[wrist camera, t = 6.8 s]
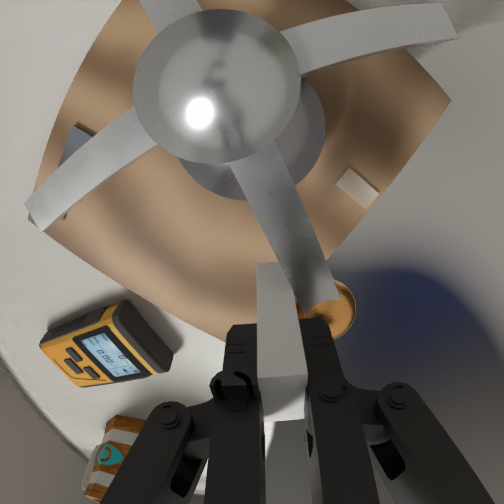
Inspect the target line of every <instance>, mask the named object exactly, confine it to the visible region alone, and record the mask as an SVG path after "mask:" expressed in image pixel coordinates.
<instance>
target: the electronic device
mask: <svg viewBox="0 0 504 504" xmlns="http://www.w3.org/2000/svg"><path fill="white" fill-rule="evenodd" d="M39 346H40V348H41V350H42V351H43V352H44V354H45V355H46V356H47V357H48V358H49V359H50V360H51V361H52V362H53V363H54V364H55V365H56V366H57V367H58V368H59V369H60V370H61V371H62V372H63V373H64V374H65V375H66V376H67V377H68V378H69V379H70V380H71V381H72V382H73V383H74V384H75V385H76V386H79V387H91V386H98V385H105V384H112V383H118V382H125V381H130V380H136V379H142V378H146V377H148V376H150V375H154V374H159V373H164V372H168V371H169V370H170V367H171V364H172V360H173V353H172V352H171V351H170V349H169V348H168V347H167V346H166V345H165V344H164V342H163V341H162V340H161V339H160V338H159V337H158V335H157V334H156V333H155V332H154V331H153V330H152V328H151V327H150V326H149V325H148V323H147V322H146V321H145V320H144V319H143V317H142V316H141V315H140V314H139V312H138V311H137V310H136V308H135V307H134V306H133V305H132V304H131V302H130V301H129V300H125V301H123V302H120V303H118V304H116V305H114V306H111V307H109V308H106V307H104V308H102V309H99V310H97V311H95V312H92V313H90V314H88V315H84V316H83V317H80V318H78V319H76V320H73V321H71V322H69V323H66V324H64V325H62V326H59V327H56V328H55V329H53V330H50V331H48V332H47V333H46V334H45V335H44V337H43V338H42V340H41V341H40V344H39Z"/></svg>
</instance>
